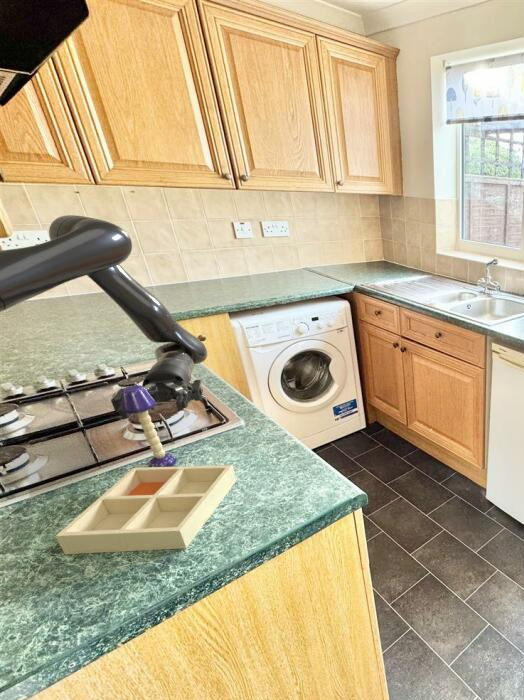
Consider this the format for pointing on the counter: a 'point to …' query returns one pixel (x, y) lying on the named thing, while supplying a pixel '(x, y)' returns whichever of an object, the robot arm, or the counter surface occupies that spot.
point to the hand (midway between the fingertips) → (152, 410)
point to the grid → (149, 510)
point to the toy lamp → (146, 422)
